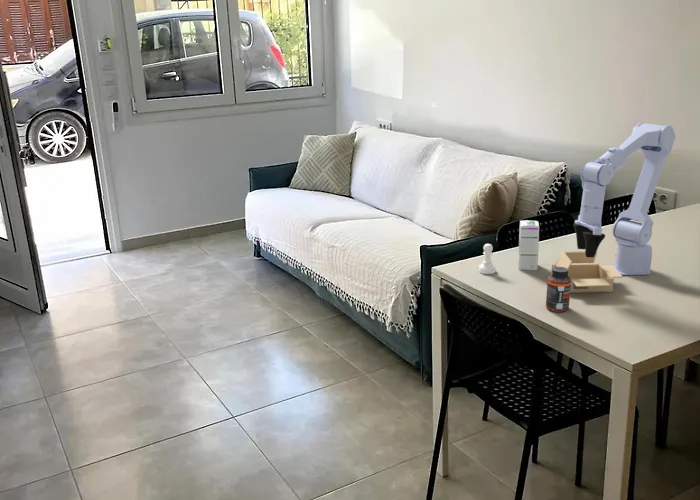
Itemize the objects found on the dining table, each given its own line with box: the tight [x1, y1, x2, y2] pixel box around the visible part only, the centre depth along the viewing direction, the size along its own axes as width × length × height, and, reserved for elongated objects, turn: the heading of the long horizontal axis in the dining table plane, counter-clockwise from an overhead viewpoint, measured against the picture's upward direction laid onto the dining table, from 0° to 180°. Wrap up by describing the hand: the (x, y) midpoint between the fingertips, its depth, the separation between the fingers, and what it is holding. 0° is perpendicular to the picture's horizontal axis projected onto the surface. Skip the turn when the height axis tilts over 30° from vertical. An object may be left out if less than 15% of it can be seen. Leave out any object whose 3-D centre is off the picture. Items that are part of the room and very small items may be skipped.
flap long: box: [554, 250, 573, 269], centre depth 188 cm, size 1×9×4 cm, turn 179°
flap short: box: [564, 250, 598, 264], centre depth 192 cm, size 9×1×4 cm, turn 88°
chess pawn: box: [478, 243, 496, 275], centre depth 201 cm, size 5×5×9 cm
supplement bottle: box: [545, 267, 571, 313], centre depth 174 cm, size 6×6×11 cm
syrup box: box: [517, 219, 540, 271], centre depth 203 cm, size 6×6×14 cm
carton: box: [550, 263, 624, 294], centre depth 188 cm, size 17×16×4 cm
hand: (585, 252), depth 186 cm, fingers open, 7 cm apart
